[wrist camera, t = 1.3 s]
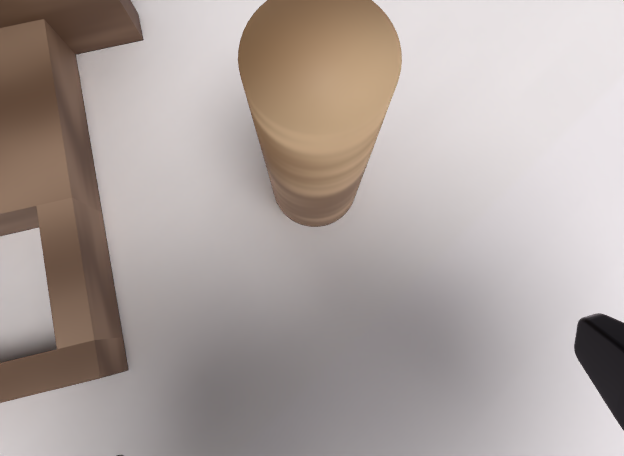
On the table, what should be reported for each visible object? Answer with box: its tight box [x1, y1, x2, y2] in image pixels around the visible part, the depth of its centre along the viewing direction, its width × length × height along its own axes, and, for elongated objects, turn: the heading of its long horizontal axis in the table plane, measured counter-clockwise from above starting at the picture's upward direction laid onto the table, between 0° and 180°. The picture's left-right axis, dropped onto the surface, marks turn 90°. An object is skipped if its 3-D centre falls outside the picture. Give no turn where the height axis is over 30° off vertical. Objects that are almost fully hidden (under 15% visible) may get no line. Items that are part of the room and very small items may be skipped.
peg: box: [238, 0, 402, 227], centre depth 18 cm, size 4×4×12 cm
